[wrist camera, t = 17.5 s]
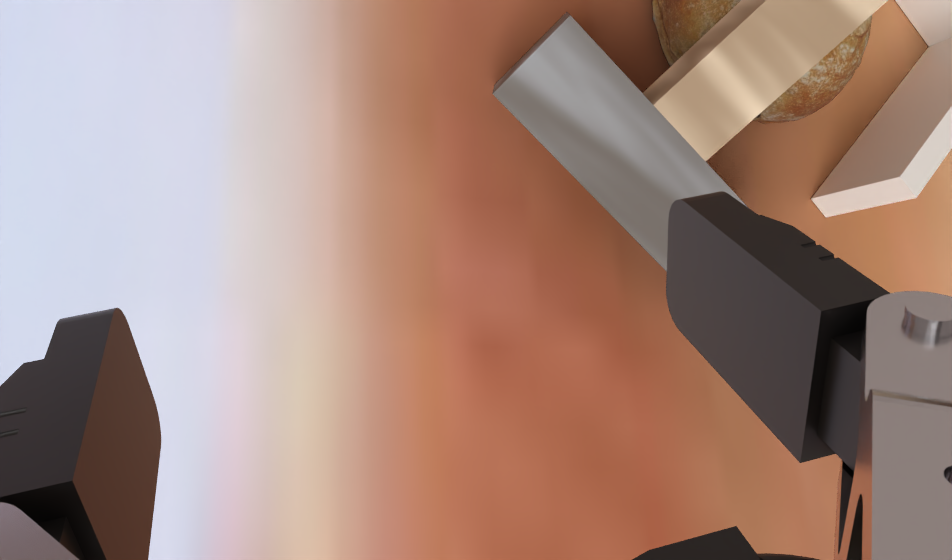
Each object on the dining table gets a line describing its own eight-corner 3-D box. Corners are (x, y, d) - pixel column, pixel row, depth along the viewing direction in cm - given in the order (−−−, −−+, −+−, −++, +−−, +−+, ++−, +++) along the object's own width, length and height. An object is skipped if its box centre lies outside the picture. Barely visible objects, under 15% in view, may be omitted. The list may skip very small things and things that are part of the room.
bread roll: (591, 76, 40) (672, 98, 32) (670, -151, 37) (777, -182, 30) (757, 133, 43) (865, 165, 36) (840, -71, 41) (974, -81, 33)
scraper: (700, 307, 34) (1108, -28, 29) (492, 95, 31) (900, -317, 26) (686, 280, 37) (1055, -29, 31) (494, 84, 34) (863, -290, 29)
